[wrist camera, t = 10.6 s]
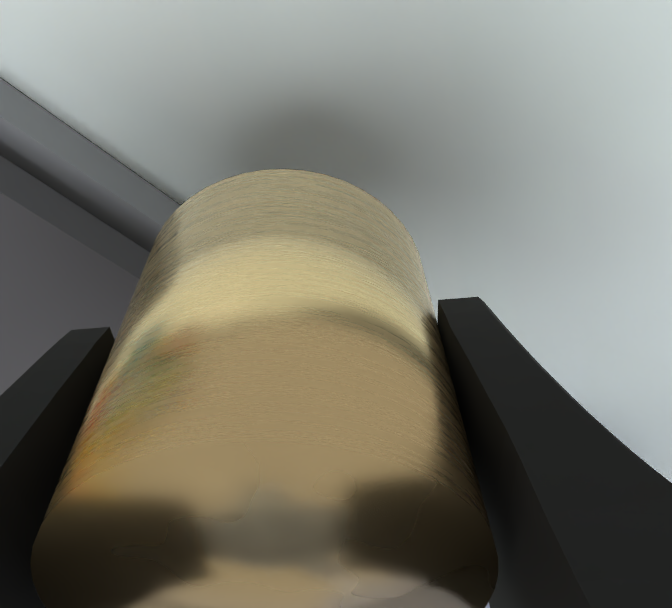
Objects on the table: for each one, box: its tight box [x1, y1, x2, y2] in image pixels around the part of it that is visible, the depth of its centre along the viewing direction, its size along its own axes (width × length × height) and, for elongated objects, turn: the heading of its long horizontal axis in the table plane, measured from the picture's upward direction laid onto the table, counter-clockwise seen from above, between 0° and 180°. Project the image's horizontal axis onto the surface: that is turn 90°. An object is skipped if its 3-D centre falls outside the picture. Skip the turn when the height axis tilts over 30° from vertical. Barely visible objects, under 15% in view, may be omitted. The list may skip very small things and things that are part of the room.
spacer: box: [30, 169, 498, 608], centre depth 9 cm, size 5×5×6 cm
